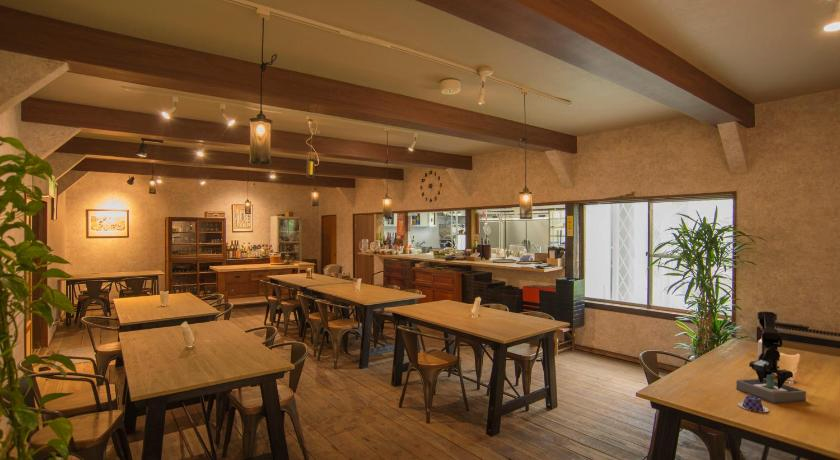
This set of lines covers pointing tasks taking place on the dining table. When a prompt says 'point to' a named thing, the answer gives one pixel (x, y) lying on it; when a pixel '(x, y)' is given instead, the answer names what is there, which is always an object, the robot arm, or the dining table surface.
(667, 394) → the dining table surface
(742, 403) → the checkered hat
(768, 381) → the peg
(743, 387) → the box
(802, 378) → the dining table surface
